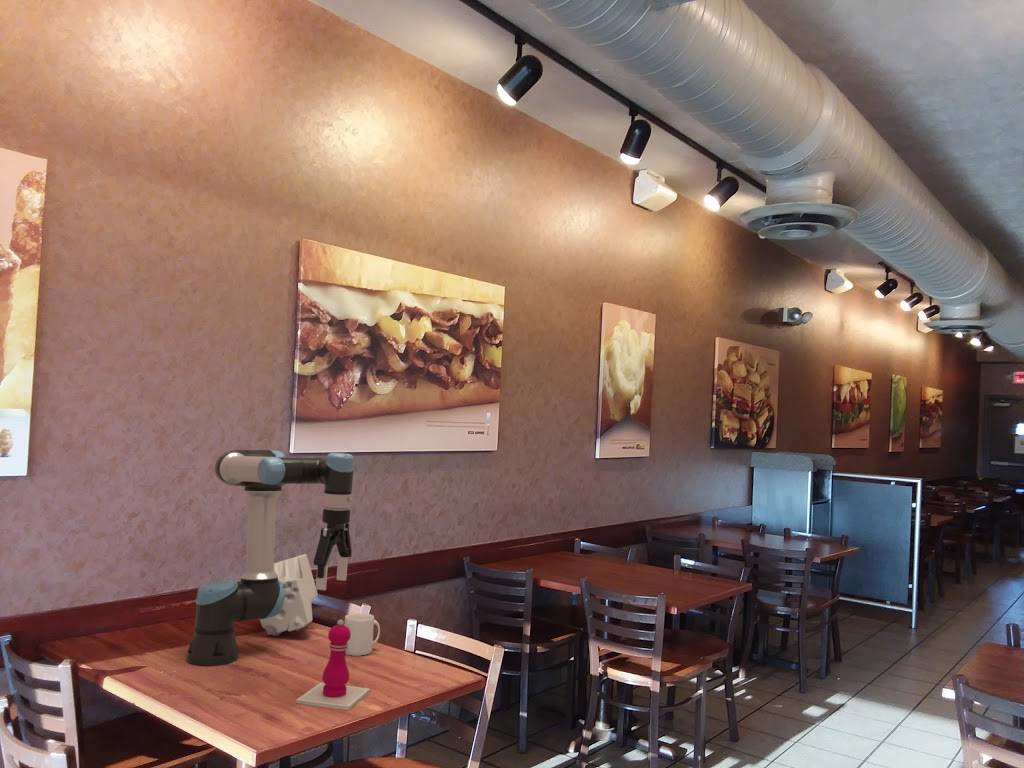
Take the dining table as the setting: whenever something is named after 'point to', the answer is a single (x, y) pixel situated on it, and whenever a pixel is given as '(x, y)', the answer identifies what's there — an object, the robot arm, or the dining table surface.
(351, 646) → the mug
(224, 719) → the dining table surface
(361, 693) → the plate
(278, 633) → the white sculpture
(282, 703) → the dining table surface
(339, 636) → the pepper mill
